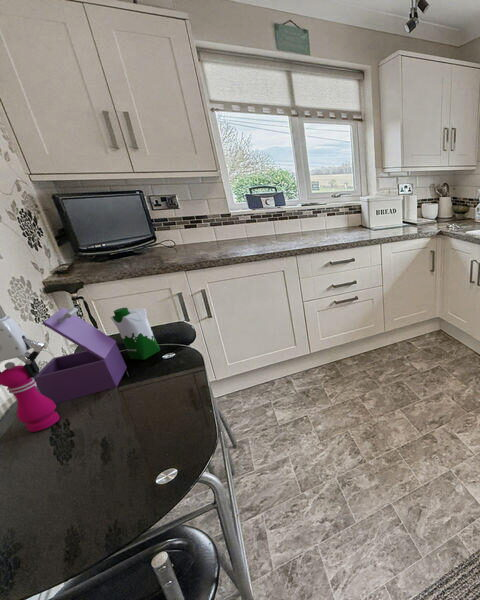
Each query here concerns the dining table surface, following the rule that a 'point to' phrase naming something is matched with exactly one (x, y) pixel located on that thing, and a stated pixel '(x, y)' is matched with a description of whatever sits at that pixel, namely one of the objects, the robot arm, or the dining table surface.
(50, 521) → the dining table surface
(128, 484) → the dining table surface
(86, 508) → the dining table surface
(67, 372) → the box
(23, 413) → the pepper mill
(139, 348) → the milk carton
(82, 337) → the lid
